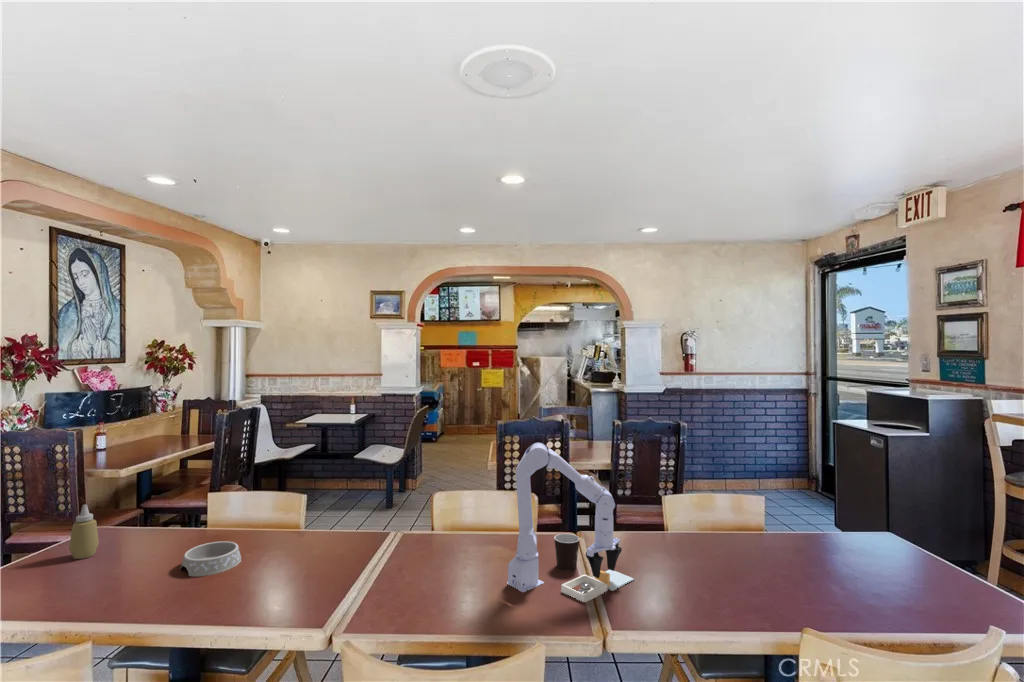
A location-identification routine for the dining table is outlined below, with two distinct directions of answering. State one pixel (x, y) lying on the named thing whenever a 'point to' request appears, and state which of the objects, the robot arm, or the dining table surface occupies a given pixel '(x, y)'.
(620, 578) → the lid
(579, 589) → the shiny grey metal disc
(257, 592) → the dining table surface
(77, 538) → the squeeze bottle
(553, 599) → the dining table surface
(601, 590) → the tub
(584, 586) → the grey shiny rounded part
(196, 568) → the dog bowl
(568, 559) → the coffee mug
